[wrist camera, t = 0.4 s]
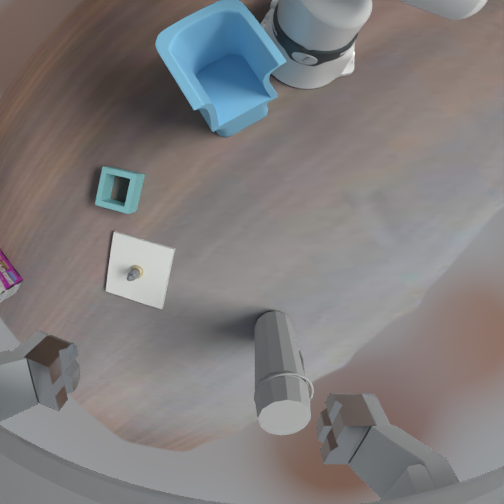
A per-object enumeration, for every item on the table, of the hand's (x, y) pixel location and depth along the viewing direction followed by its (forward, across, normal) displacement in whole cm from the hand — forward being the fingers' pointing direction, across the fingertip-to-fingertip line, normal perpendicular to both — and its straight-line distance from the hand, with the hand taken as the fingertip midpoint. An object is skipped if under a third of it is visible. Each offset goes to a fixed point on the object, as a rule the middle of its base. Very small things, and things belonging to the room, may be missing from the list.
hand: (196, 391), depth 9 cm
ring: (+45, +22, -1) cm, 50 cm away
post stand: (+45, +17, +14) cm, 50 cm away
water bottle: (+46, -10, +20) cm, 51 cm away
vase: (+46, +5, -18) cm, 49 cm away
